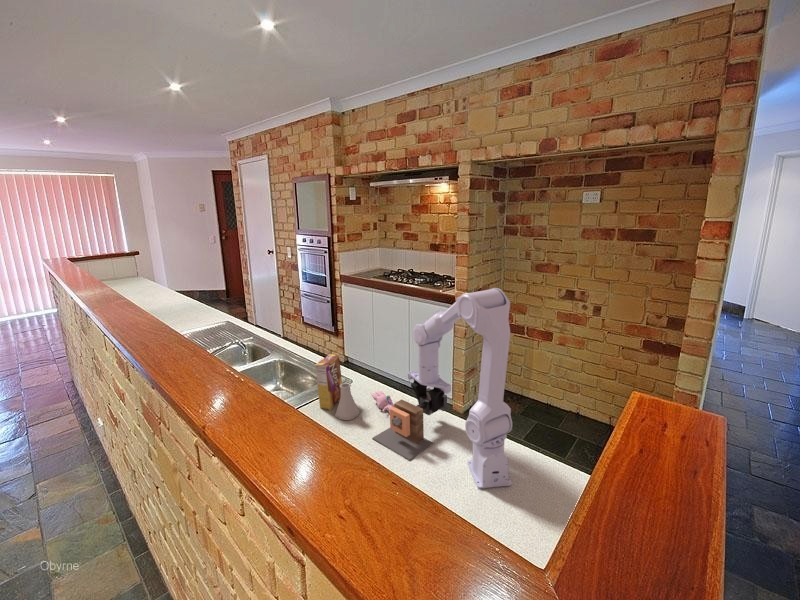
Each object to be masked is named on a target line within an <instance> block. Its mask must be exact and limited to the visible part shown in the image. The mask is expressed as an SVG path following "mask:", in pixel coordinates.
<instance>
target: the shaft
mask: <svg viewBox="0 0 800 600" xmlns="http://www.w3.org/2000/svg"><path fill="white" fill-rule="evenodd" d="M432 389H433V388H429V387H427V390H426V394H424V395H423V396H421V397H420V404H419V403H418V404H417V405H416V406H417V407H420V408H422V409H423V414H425V415H427V416H431V415H432V414H434V413H435V412H432V402H431V397H430V394H429V391H430V390H432ZM447 410H448V395H447V394H446V393H445V394H444V395H443V397H442V400H441V403H440V406H439V410H438V411H442V412H445V411H447ZM401 423H402V419H400V418H398V417H396V418H394V419H392V424H393V425H394V426H397V425H399V424H401Z"/></svg>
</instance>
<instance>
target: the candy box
mask: <svg viewBox="0 0 800 600" xmlns="http://www.w3.org/2000/svg"><path fill="white" fill-rule="evenodd" d="M314 366H315V373H316V374H315V375H316V376H315V377H316V383H317V385H316V386H317V392H318V393H317V394H318V400H319V403H318V404H319V408H320V409H325V410H332V409H333V408H334V407H335V406H336V405H337V404H339V403H338V402H339V401H340V398H341V388H340V385H341V384H343V381H342V371H341V362H340V355H339V354H328V355H326V356H325V357H323V358H322V359H321V360H319V361H318V362H317V363H315V365H314Z"/></svg>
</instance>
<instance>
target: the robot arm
mask: <svg viewBox="0 0 800 600" xmlns="http://www.w3.org/2000/svg"><path fill="white" fill-rule="evenodd" d="M455 299H456V300H455V302H454V303H452V305H451V306H450V307H449V308H448V309H446V310H445V311H444V310H435V311H434V312H433V315H432V316H431V317H430V318H426V319H425V322H424V323H421V324H420V323H416V324H415V326H414V327H413V330H412V331H413V332H412V335H413V336H412V337H413V339H414V341H415V343H416V344H417V371H415V370H410V371H408V372H407V379H408V380H413V382H412V383H411V384H410V388H412V390H413V392H414V394H415V396H416V400H417V403H418V405H419V404H420V397H421V396H423V395H424V394H426V390H427V389H428V387H431V389H432V390H430V391H429V394H430V397H431V402H432V412H434V413H436V412H438V411H440V410H439V406H440V403H441V400H442V397H443V395H444V394H445V395H447V394H449V393H451V392H452V384H450V383H448V382H446V381H445V380H443V379H442V378H440V375H441V374H440V373H439V370H440V369H439V348H440V347H441V341H442V340H443V337H444V335H446V334H448V333H449V332H450V331H452V330H453V329H454V325H455V323H456V322H457V321H459V320H460V319H462V320H464V322H465V323H466V324H467V325H468V326H469V327H470V328H471V329H472V330H473V331H474V333H476V334H478V335H481V336H482V339H483V340H482V351H481V352H482V354H481V361H480V362H481V363H480V375H479V385H478V399H477V400H476V402H475V403H474V404H473V405H472V407H471V408H470V409H469V411H468V412H469V413H468V417H467V419H466V420H465V431H466V435H467V437H468V438H469V439H470V441H471V442H472V459H469V460H467V465H468V468H469V470H470V472H471V475H472V477H473V480H474V482H475V485H476V487H477V489H486V488H488V489H489V488H497V487H499V488H500V487H507V486H512V485H513V483H512V480H511V478H510V476H509V467H510V466H509V460H508V457H507V454H506V452H505V440H506V439H507V435H508V433H510V432H511V431H512V429H513V420H512V416H511V413H512V408H511V407H510V406H509V405H508V404H507V403H506V402H505V401H504V398H505V397H504V396H505V395H504V394H505V385H506V377H507V369H508V368H507V367H508V360H509V359H508V358H509V351H510V350H509V349H510V342H511V327H510V321H509V317H510V310H511V301H510V299H509V298H508V297H507V295H506V293H505V291H504V290H502V289H500V288H499V287H498V288H497V287H492V288H490V289H485V290H479V291H475V292H473V291H472V292H464V293H462V294H461V295H460V296H457V297H456V298H455Z"/></svg>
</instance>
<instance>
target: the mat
mask: <svg viewBox="0 0 800 600" xmlns="http://www.w3.org/2000/svg"><path fill="white" fill-rule="evenodd" d="M371 439H372V440H373V441H375V442H377V443H378V444H380V445H381V446H384V447H385V448H387V449H388V450H390V451H392V452H394V453H395V454H397V455H398V456H400V457H402V458H403V459H405V460H407V461H411V460H412V459H414V458H416V457H417V456H418V455H420V454H421V453H423V452H424V451H425V450H427V449H428V448H430V447H431V446H433V445H434V442H433V441H431V440H429V439H427V438H425V437H424V439H423V440H422V441H420V442H419V443H417V444H415V443H413V442H412V441H410V440H408V439H406V438H404V437H402V436H401V435H399V434H397V433H395V431H394V430H392V429H390V427H388V428H386V429H385V430H384V431H382V432H379V433H377V434H376V435H375V436H373V437H372V438H371Z"/></svg>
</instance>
